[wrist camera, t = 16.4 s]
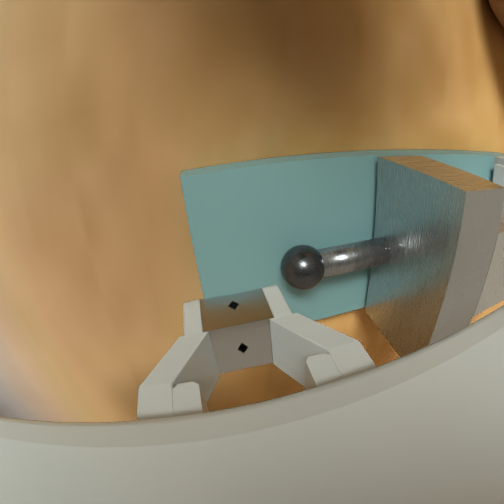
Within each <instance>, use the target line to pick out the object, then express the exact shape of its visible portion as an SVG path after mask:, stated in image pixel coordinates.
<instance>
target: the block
mask: <svg viewBox="0 0 504 504" xmlns="http://www.w3.org/2000/svg"><path fill="white" fill-rule="evenodd" d="M502 300H504V203H503V209H502V214H501V220H500V224H499V229H498V234H497V238H496V242H495V246H494V250H493V254H492V258H491V262H490V265H489V269H488V272H487V275H486V279H485V282H484V285H483V288H482V291H481V294H480V297H479V300H478V303H477V305H476V308H475V311H474V313H473V316H475V315H477V314H479V313H481V312H482V311H484V310H486V309H488V308H490V307H492V306H494V305H495V304H497V303H499V302H501V301H502Z"/></svg>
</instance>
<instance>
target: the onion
mask: <svg viewBox="0 0 504 504" xmlns="http://www.w3.org/2000/svg"><path fill="white" fill-rule="evenodd" d="M488 2H489V5H490V7H491V9H492V11H493V12H494V14H495V16H496V18H497V19H498V21H499V22H500V23H501V25H502V26H503V28H504V0H488Z"/></svg>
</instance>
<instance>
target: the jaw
mask: <svg viewBox="0 0 504 504" xmlns="http://www.w3.org/2000/svg"><path fill="white" fill-rule="evenodd" d="M503 203H504V187H502V186H500V185H498V184H496V183H493V182H491V181H489V180H486V179H484V178H481V177H479V176H476V175H474V174H471V173H469V172H466V171H464V170H461V169H458V168H456V167H453V166H450V165H447V164H444V163H442V162H439V161H436V160H433V159H430V158H427V157H424V156H421V155H419V156H382V157H378V169H377V199H376V216H375V230H374V239H368V240H363V241H358V242H353V243H348V244H342V245H337V246H332V247H326V248H321V249H315V248H314V247H312V246H309V245H297V246H294V247H292V248H290V249H289V250H288V251H287V252H286V253H285V254H284V256H283V258H282V260H281V265H280V270H281V275H282V277H283V279H284V280H285V282H286V283H287V284H288V285H289V286H291V287H293V288H295V289H298V290H308V289H311V288H313V287H315V286H316V285H317V284H319V283H320V281H321V280H322V279H323V278H327V277H332V276H336V275H341V274H345V273H350V272H354V271H358V270H363V269H367V268H371V271H370V279H369V287H368V294H367V301H366V308H365V312H366V313H367V314H368V316H369V317H370V318H371V319H372V321H373V322H374V323H375V325H376V326H377V327H378V328H379V330H380V331H381V332H382V334H383V335H384V336H385V337H386V339H387V340H388V341H389V343H390V344H391V345H392V347H393V348H394V349H395V351H396V352H397V353H398V355H399V356H400V357H403V356H405V355H408V354H410V353H412V352H414V351H417V350H419V349H421V348H423V347H426V346H428V345H430V344H432V343H434V342H436V341H438V340H441V339H443V338H445V337H447V336H449V335H451V334H453V333H455V332H457V331H459V330H461V329H462V328H464V327H466V326H468V325H469V324H470V321H471V319H472V316H473V313H474V311H475V308H476V305H477V303H478V300H479V297H480V294H481V291H482V288H483V285H484V282H485V279H486V275H487V272H488V269H489V265H490V262H491V258H492V254H493V250H494V246H495V242H496V238H497V234H498V229H499V224H500V220H501V214H502V209H503Z"/></svg>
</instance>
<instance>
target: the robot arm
mask: <svg viewBox="0 0 504 504" xmlns="http://www.w3.org/2000/svg"><path fill="white" fill-rule="evenodd" d="M183 313H184V336H180V337H179V338H178V339H177V341H176V342H175V343H174V344H173V346H172V347H171V348H170V349H169V351H168V352H167V353H166V354H165V355H164V357H163V358H162V359H161V360H160V362H159V363H158V364H157V365H156V367H155V368H154V369H153V370H152V372H151V373H150V374H149V375H148V377H147V378H146V379H145V380H144V381H143V383H142V384H141V385H140V386H139V391H138V406H137V420H135V421H118V422H50V421H34V420H23V419H13V418H4V417H0V504H504V305H503V306H502V307H500V308H498V309H497V310H495V311H493V312H491V313H490V314H488V315H486V316H484V317H483V318H481V319H479V320H477V321H476V322H474V323H472V324H470V325H468V326H466V327H464V328H462V329H461V330H459V331H457V332H455V333H453V334H451V335H449V336H447V337H445V338H443V339H441V340H438V341H436V342H434V343H432V344H430V345H428V346H426V347H423V348H421V349H419V350H417V351H414V352H412V353H410V354H408V355H405V356H403V357H400V358H398V359H396V360H393V361H391V362H388V363H386V364H383V365H380V366H378V367H376V365H375V364H374V362H373V361H372V359H371V358H370V356H369V355H368V353H367V352H366V350H365V349H364V347H363V346H362V345H361V343H360V342H359V341H358V340H356V339H354V338H351V337H349V336H347V335H345V334H342V333H340V332H338V331H336V330H334V329H331V328H329V327H327V326H325V325H322V324H320V323H318V322H316V321H314V320H312V319H309V318H307V317H305V316H303V315H301V314H299V313H294V314H292V312H291V310H290V308H289V306H288V304H287V302H286V300H285V298H284V296H283V294H282V293H281V291H280V289H279V287H278V285H276V284H275V285H271V286H266V287H262V288H259V289H255V290H250V291H245V292H241V293H236V294H229V295H223V296H217V297H212V298H206V299H200V300H194V301H188V302H184V304H183ZM269 363H273V364H274V365H275V366H277V367H278V368H279V369H281V370H282V371H283V372H285V373H286V374H287V375H289V376H290V377H291V378H293V379H294V380H296V381H297V382H298V383H300V384H301V385H302V386H304V387H305V390H304V391H301V392H298V393H294V394H290V395H287V396H283V397H279V398H275V399H270V400H266V401H262V402H257V403H253V404H248V405H243V406H239V407H233V408H228V409H223V410H217V411H211V412H209V409H208V407H207V402H208V400H209V398H210V396H211V394H212V391H213V389H214V387H215V385H216V383H217V381H218V379H219V377H220V374H222V373H226V372H231V371H235V370H240V369H244V368H249V367H254V366H259V365H264V364H269Z"/></svg>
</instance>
